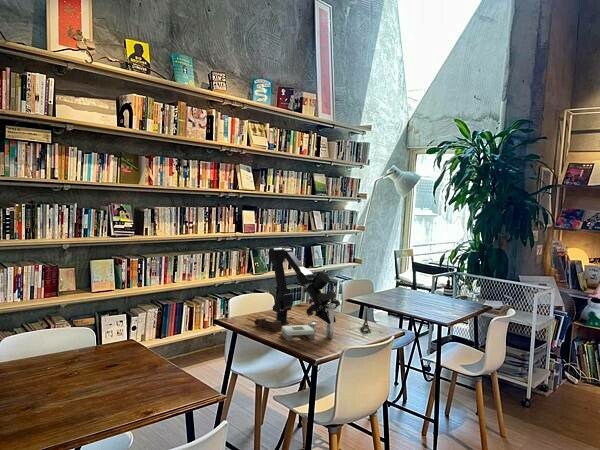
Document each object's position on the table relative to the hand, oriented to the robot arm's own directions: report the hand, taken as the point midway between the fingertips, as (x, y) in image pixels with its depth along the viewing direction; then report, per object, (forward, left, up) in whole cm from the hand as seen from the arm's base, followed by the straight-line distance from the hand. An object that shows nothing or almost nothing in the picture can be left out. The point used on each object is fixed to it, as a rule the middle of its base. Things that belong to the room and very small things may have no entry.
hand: (332, 322), depth 204 cm
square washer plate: (-6, -15, -8) cm, 18 cm away
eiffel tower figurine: (-8, +22, -8) cm, 25 cm away
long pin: (-1, -1, -7) cm, 7 cm away
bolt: (-22, -25, -8) cm, 35 cm away
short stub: (-11, -6, -8) cm, 15 cm away
